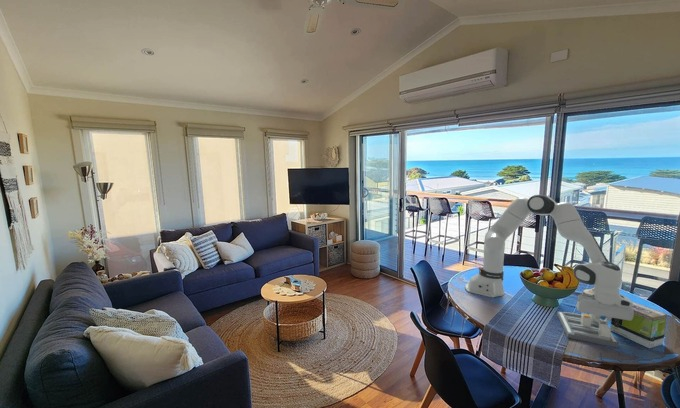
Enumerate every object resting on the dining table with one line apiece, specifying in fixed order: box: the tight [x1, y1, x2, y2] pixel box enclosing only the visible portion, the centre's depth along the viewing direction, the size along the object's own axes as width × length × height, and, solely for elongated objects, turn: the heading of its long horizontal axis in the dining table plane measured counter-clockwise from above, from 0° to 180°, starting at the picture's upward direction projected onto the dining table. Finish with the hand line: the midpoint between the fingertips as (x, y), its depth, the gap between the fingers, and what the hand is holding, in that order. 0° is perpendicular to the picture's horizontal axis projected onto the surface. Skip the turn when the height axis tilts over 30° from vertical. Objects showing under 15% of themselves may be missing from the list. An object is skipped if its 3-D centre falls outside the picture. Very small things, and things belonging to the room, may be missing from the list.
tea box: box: [609, 300, 668, 349], centre depth 134 cm, size 15×10×15 cm, turn 17°
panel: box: [556, 310, 619, 348], centre depth 141 cm, size 18×22×7 cm
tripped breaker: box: [580, 313, 591, 327], centre depth 141 cm, size 3×4×5 cm
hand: (602, 324), depth 139 cm, fingers closed
